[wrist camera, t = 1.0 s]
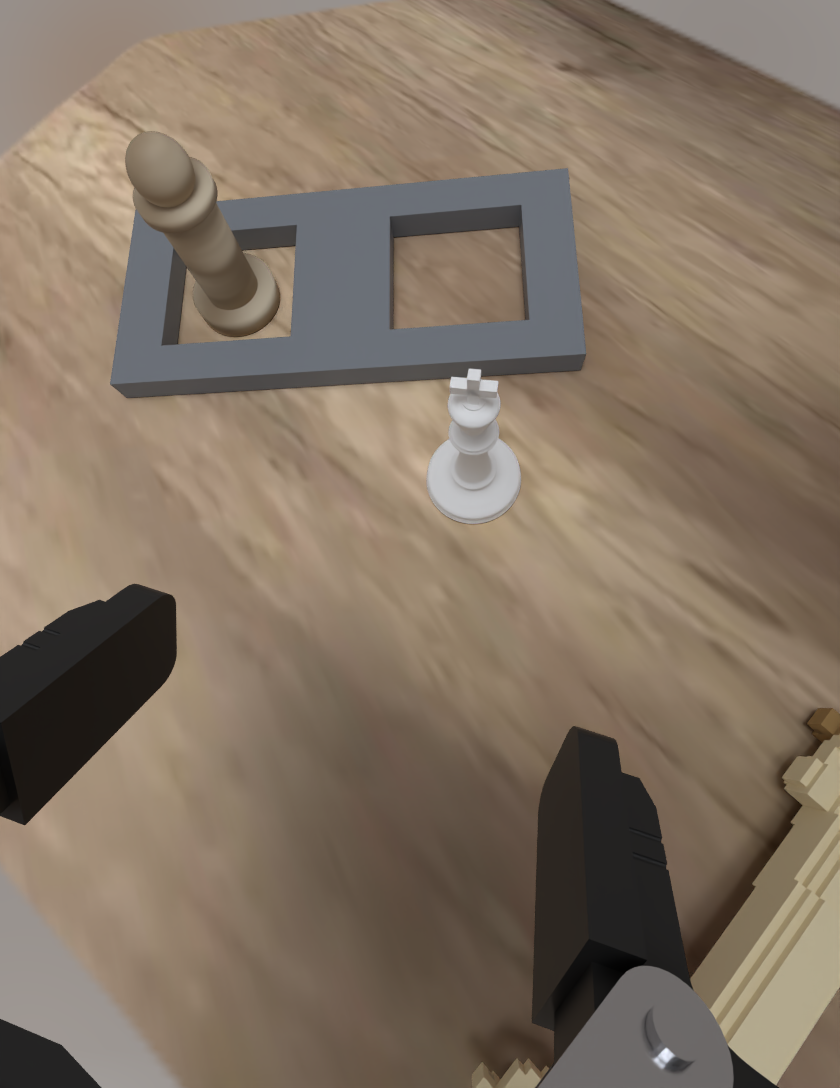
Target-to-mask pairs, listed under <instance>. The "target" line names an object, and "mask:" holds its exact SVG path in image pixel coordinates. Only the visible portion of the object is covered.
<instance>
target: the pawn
mask: <svg viewBox="0 0 840 1088" xmlns="http://www.w3.org/2000/svg"><path fill="white" fill-rule="evenodd" d="M125 163H126V170H127V173H128V176H129V179H130V181H131V183H132V184H133V186H134V191H133V202H134V206H135V208H136V210H137V211H138V212H139V214H140V215H141V217H142V218H143V219H144V221H145V222H146V223H147V224H148V225H149V226H150V227H151V228H153V229H155V230H157V231H159V232H163V233H164V235H165V236H166V238H167V239H168V241H169V242H170V243H171V245H172V246H173V248H174V249H175V251H176V252H177V253H178V255H179V256H180V258H181V259H182V261H183V262H184V264H185V265H186V266H187V268H188V269H189V271H190V272H191V274H192V275H193V277H194V278H195V279H196V282H195V284H194V289H193V300H194V304H195V306H196V308H197V310H198V311H199V312H200V314H201V315H202V317H203V318H204V319H205V321H206V322H207V323H208V325H209V326H210V327H211V328H212V329H213V330H215V331H216V332H218V333H220V334H223V335H226V336H232V337H239V336H245V335H249V334H252V333H254V332H256V331H258V330H260V329H261V328H263V327H264V326H265V325H267V324H268V323H269V322H270V321H271V319H272V318H273V317H274V315H275V313H276V312H277V309H278V306H279V303H280V292H279V288H278V285H277V283H276V281H275V279H274V277H273V275H272V273H271V271H270V269H269V267H268V266H267V265H266V263H265V262H263V261H262V260H261V259H260V258H258V257H256V256H253V255H251V254H246V253H243V252H242V250H241V248H240V246H239V244H238V242H237V240H236V239H235V237H234V235H233V233H232V231H231V229H230V227H229V225H228V224H227V222H226V220H225V218H224V216H223V214H222V212H221V211H220V209H219V207H218V205H217V203H216V201H217V187H216V184H215V182H214V180H213V178H212V176H211V174H210V172H209V170H208V169H207V167H206V166H205V165H204V164H203V163H202V162H200V161H199V160H197V159H195V158H192V157H189V156H188V154H187V153H186V151H185V150H184V149H183V147H182V146H181V145H180V144H179V143H178V142H177V141H175V140H174V139H173V138H171V137H169V136H167V135H165V134H163V133H160V132H154V131H149V132H144V133H141V134H139V135H137V136H136V137H135V138H134V139H133V140H132V141H131V142H130V144H129V146H128V148H127V151H126V157H125Z"/></svg>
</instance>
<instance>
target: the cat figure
mask: <svg viewBox="0 0 840 1088" xmlns="http://www.w3.org/2000/svg"><path fill="white" fill-rule="evenodd" d="M807 724H808V725H809V726H810V727H811V728H812V729H813V730H814V731H813V732H812V734H813V735H814V736H815V737H816V738H817V739H819V740H820V741H821V742H822V744H821V745H820V747H819V748H818V750H817V751H816V752H815V754H814V755H813V756H807V757H803V756H797V757H796V759H795V760H794V761H793V763H792V764H791V766H790V767H789V768H788V770H787V771H786V772H785V774H784V775H783V776H782V778H783V779H784V780H785V781H784V783H785V784H786V786H785V788H784V789H785V790H786V791H787V792H788V793H789V794H790V795H791V796H793V797H794V798H795V799H796V800H797V801H798V802H799V803H801V804H802V805H803V806H802V807H801V808H800V810H799V811H798V813H797V814H796V815H795V817H794V818H793V820H792V821H791V822H790V823H791V824H793V826H792V827H793V828H792V829H791V830H790V832H789V833H788V834H787V836H786V837H785V839H784V840H783V841H782V843H781V844H780V846H779V847H778V848H777V850H776V851H775V853H774V854H773V855H772V857H771V858H770V860H769V861H768V862H767V864H766V865H765V867H764V868H763V869H762V871H761V872H760V874H759V875H758V876H757V878H756V879H755V881H754V882H753V883H752V885H754V886H755V889H754V890H753V892H752V893H751V894H750V896H749V897H748V899H747V900H746V902H745V903H744V904H743V906H742V907H741V909H740V910H739V911H738V913H737V914H736V916H735V917H734V918H733V920H732V921H731V923H730V924H729V925H728V927H727V928H726V930H725V931H724V932H723V934H722V935H721V937H720V938H719V939H718V941H717V942H716V944H715V945H714V946H713V948H712V949H711V951H710V952H709V953H708V955H707V956H706V958H705V959H704V960H703V962H702V963H701V965H700V966H699V967H698V969H697V970H696V972H695V973H694V974H693V976H692V977H691V979H690V981H691V984H692V987H693V990H694V992H696V993H697V995H698V996H699V997H700V998H701V999H702V1000H703V1002H704V1003H705V1004H706V1005H707V1007H708V1008H709V1010H710V1011H711V1013H712V1014H713V1016H714V1017H715V1019H716V1021H717V1023H718V1024H719V1026H720V1028H721V1030H722V1033H723V1035H724V1037H725V1039H726V1042H727V1045H728V1046H729V1047H730V1048H731V1049H732V1050H733V1051H734V1052H735V1053H736V1054H737V1055H738V1056H739V1057H740V1058H741V1059H742V1060H744V1061H745V1062H746V1063H747V1064H748V1065H750V1066H751V1067H752V1068H753V1069H755V1070H756V1071H757V1072H759V1073H760V1074H761V1075H763V1076H764V1077H765V1078H767V1079H768V1080H769V1081H771V1082H772V1083H773V1084H775V1085H776V1084H777V1083H778V1081H779V1080H780V1078H781V1076H782V1075H783V1073H784V1072H785V1070H786V1069H787V1067H788V1066H789V1064H790V1063H791V1061H792V1060H793V1058H794V1056H795V1055H796V1053H797V1052H798V1050H799V1049H800V1047H801V1046H802V1044H803V1043H804V1041H805V1039H806V1038H807V1036H808V1035H809V1033H810V1032H811V1030H812V1029H813V1027H814V1026H815V1024H816V1023H817V1021H818V1019H819V1018H820V1016H821V1015H822V1013H823V1012H824V1010H825V1009H826V1007H827V1006H828V1004H829V1002H830V1001H831V999H832V998H833V996H834V995H835V993H836V992H837V990H838V989H839V987H840V714H839V713H838V712H837V711H835V710H834V709H833V708H818V709H817V711H816V712H815V713H814V715H813V716H812V717H811V719H810V720H809V721H808V723H807ZM548 1070H549V1068H548V1067H547V1066H545V1067H544V1069H543V1070H542V1071H541V1072H540V1071H539V1069H538V1068H537V1067H536V1066H535V1065H534V1064H533V1063H532V1061H531V1060H530V1059H529V1058H528V1059H527V1060H526V1062H525V1063H524V1064H522V1063H521V1062H520V1061H519V1059H518V1058H516V1060H515V1061H514V1062H513V1064H512V1065H511V1066H510V1068H509V1069H508V1070H507V1072H506V1073H505V1074H504V1075H503V1077H502V1078H501V1079H500V1078H499V1077H498V1076H497V1075H496V1073H495V1072H494V1071H492V1073H491V1072H490V1070H489V1069H488V1068H487V1067H486V1066H485V1064H484V1063H483V1062H481V1064H480V1065H479V1066H478V1067H477V1069H476V1070H475V1071H474V1073H473V1074H472V1075H471V1076H472V1088H535V1087H536V1086H537V1084H538V1083H539V1082H540V1080H541V1079H542V1078H543V1076H544V1075H545V1074H546V1072H547V1071H548Z"/></svg>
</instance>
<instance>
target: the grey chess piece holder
mask: <svg viewBox="0 0 840 1088" xmlns="http://www.w3.org/2000/svg"><path fill="white" fill-rule="evenodd" d="M216 203H217V205H218V207H219V209H220V211H221V212H222V214H223V216H224V218H225V220H226V222H227V224H228V225H229V227H230V229H231V231H232V233H233V235H234V237H235V239H236V240H237V242H238V244H239V246H240V248H241V250H249V249H261V248H273V247H284V246H296V250H295V268H294V286H293V305H292V323H291V337H277V338H263V339H249V340H235V341H220V342H206V343H192V344H178V335H179V326H180V318H181V309H182V300H183V291H184V283H185V274H186V265H185V264H184V262H183V261H182V259H181V258H180V256H179V255H178V253H177V252H176V251H175V249H174V248H173V246H172V245H171V243H170V242H169V241H168V239H167V238H166V236H165V235H164V233H163V232H159V231H157V230H155V229H153V228H151V227H150V226H149V225H148V224H147V223H146V222H145V221H144V219H143V218H142V217H141V215H140V214H139V212H138V211H137V210H136V211H135V218H134V224H133V231H132V238H131V245H130V252H129V259H128V265H127V272H126V279H125V286H124V293H123V300H122V306H121V313H120V320H119V327H118V334H117V341H116V347H115V354H114V361H113V368H112V375H111V382H110V385H112V386H113V387H114V388H115V389H117V390H118V391H119V392H120V393H121V394H123V395H124V396H125V397H126V398H133V397H149V396H166V395H182V394H198V393H215V392H231V391H248V390H264V389H280V388H297V387H313V386H329V385H346V384H362V383H378V382H395V381H411V380H428V379H444V378H451V377H467V376H468V370H469V369H479V370H481V376H493V375H509V374H526V373H542V372H558V371H575V370H581V367H582V364H583V362H584V359H585V356H586V347H585V337H584V327H583V317H582V306H581V296H580V286H579V276H578V266H577V256H576V245H575V235H574V225H573V215H572V205H571V195H570V185H569V174H568V168H566V169H556V170H545V171H534V172H524V173H513V174H502V175H492V176H481V177H471V178H460V179H449V180H439V181H428V182H417V183H407V184H396V185H386V186H375V187H364V188H354V189H343V190H332V191H322V192H311V193H301V194H290V195H279V196H269V197H258V198H247V199H237V200H226V201H216ZM507 227H519V232H520V247H521V262H522V276H523V291H524V305H525V320H521V321H506V322H492V323H478V324H464V325H449V326H435V327H421V328H406V329H393V249H394V237H402V236H413V235H425V234H437V233H448V232H460V231H472V230H484V229H495V228H507Z"/></svg>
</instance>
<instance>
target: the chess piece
mask: <svg viewBox="0 0 840 1088" xmlns="http://www.w3.org/2000/svg"><path fill="white" fill-rule="evenodd" d="M497 390H498V381H491V380H481V370H479V369H469V370H468V376H467V378H460V377H451V382H450V396H449V399H448V411H449V414H450V416H451V418H452V422H451V424H450V426H449V439H448V440H447V441H445V442H444V443H443V444H442V445H441V446H439V448H438V449H437V450H436V451H435V453H434V454H433V456H432V458H431V460H430V463H429V466H428V471H427V489H428V493H429V496H430V498H431V500H432V502H433V503H434V505H435V506H436V507H437V508H438V509H439V510H440V511H441V512H442V513H443V514H444V515H446V516H447V517H449V518H451V519H453V520H455V521H458V522H462V523H467V524H479V523H485V522H488V521H491V520H494V519H496V518H498V517H499V516H501V515H502V514H504V513H505V512H506V511H507V510H508V509H509V508H510V507H511V506H512V504H513V503H514V502H515V500H516V498H517V496H518V493H519V490H520V485H521V473H520V467H519V463H518V460H517V458H516V456H515V454H514V452H513V451H512V450H511V448H510V447H509V446H508V445H507V444H506V443H504V442H503V441H502V440H500V439H499V438H498V437H499V427H498V424H497V422H496V420H495V419H496V417H497V415H498V413H499V410H500V398H499V395H498V393H497Z"/></svg>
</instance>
